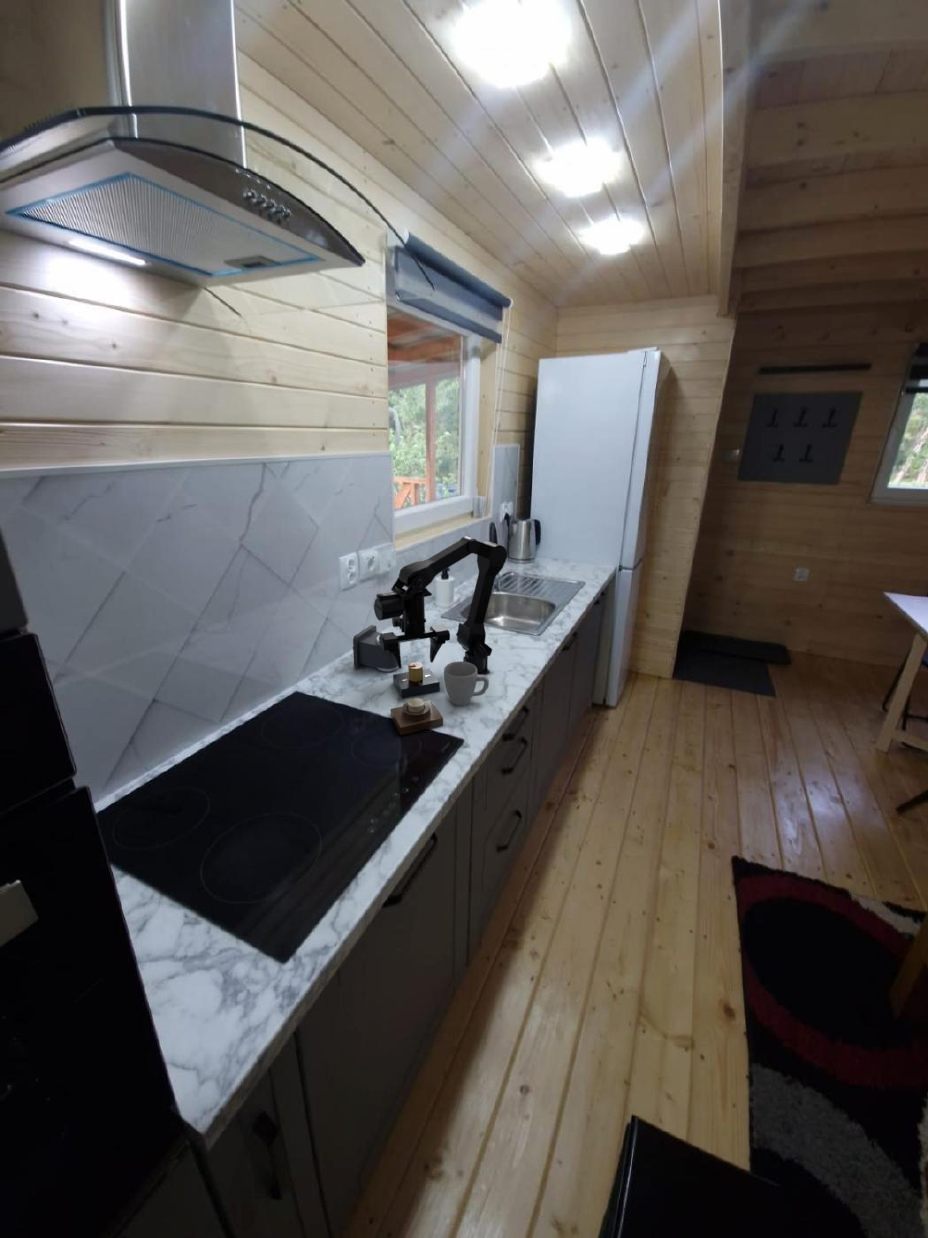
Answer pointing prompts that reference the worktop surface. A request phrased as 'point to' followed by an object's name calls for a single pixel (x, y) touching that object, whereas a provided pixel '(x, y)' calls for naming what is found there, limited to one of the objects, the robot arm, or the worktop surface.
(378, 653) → the light fixture
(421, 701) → the button
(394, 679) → the dimmer panel
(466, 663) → the mug
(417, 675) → the dimmer knob
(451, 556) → the robot arm
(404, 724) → the switch block
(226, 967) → the worktop surface
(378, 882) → the worktop surface
